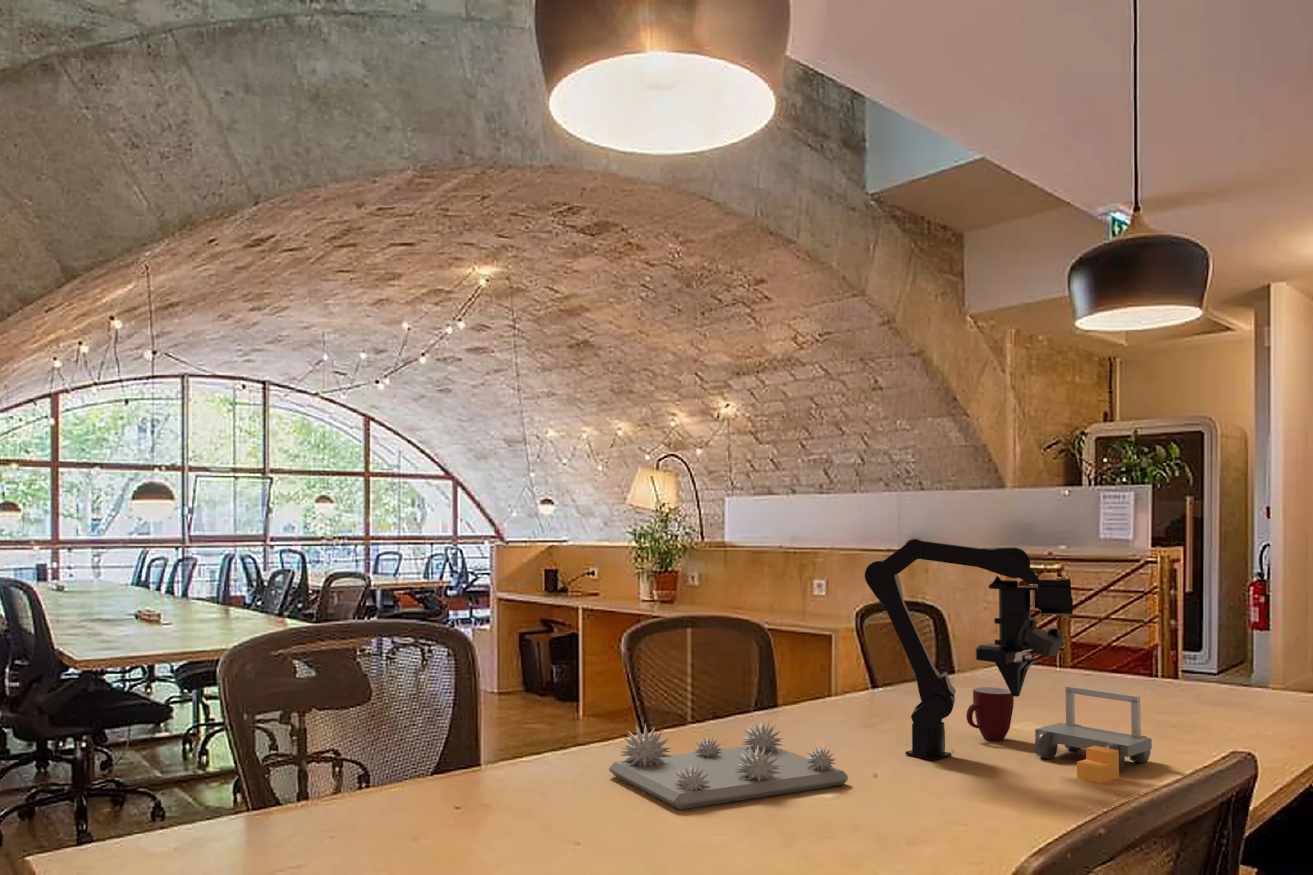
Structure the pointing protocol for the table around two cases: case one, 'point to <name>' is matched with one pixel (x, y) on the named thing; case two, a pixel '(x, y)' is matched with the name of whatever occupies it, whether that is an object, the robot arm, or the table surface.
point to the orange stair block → (1099, 765)
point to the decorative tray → (723, 769)
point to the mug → (991, 712)
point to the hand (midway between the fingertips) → (1015, 696)
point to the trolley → (1094, 731)
